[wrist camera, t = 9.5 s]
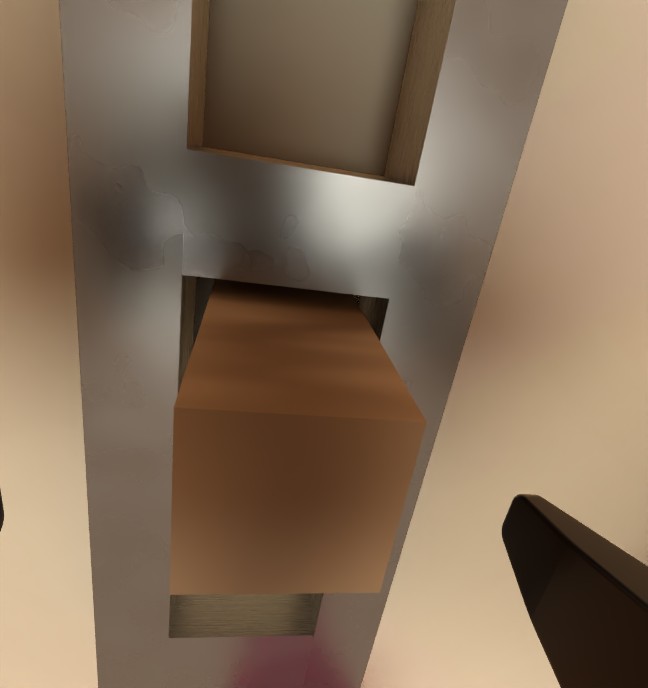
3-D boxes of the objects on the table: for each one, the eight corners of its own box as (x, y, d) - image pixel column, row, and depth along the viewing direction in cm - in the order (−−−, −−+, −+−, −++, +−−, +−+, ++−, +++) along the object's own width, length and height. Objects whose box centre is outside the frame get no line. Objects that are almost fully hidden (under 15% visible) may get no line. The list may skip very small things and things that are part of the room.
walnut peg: (345, 282, 15) (427, 422, 8) (327, 390, 16) (379, 592, 9) (218, 268, 14) (173, 407, 7) (211, 383, 16) (169, 594, 8)
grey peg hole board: (560, -199, 11) (663, -314, 8) (347, 619, 21) (359, 689, 19) (98, -355, 9) (27, -571, 6) (121, 622, 20) (99, 699, 17)
